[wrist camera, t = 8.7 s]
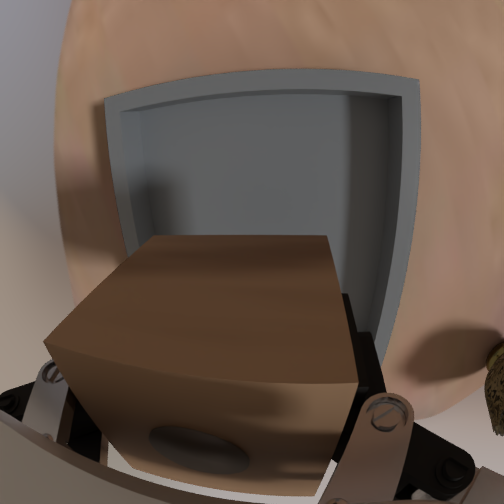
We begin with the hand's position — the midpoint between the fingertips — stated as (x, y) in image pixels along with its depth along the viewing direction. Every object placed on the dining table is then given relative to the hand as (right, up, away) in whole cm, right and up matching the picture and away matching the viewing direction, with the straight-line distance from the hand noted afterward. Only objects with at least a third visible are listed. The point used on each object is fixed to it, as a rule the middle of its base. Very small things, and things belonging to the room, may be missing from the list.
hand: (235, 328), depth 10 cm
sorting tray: (+1, +4, +8) cm, 9 cm away
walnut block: (0, +1, +1) cm, 1 cm away
